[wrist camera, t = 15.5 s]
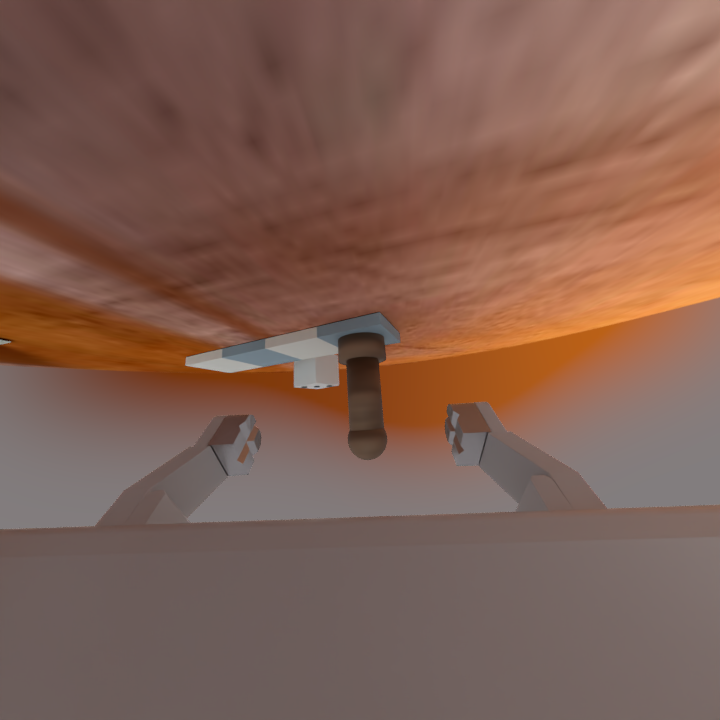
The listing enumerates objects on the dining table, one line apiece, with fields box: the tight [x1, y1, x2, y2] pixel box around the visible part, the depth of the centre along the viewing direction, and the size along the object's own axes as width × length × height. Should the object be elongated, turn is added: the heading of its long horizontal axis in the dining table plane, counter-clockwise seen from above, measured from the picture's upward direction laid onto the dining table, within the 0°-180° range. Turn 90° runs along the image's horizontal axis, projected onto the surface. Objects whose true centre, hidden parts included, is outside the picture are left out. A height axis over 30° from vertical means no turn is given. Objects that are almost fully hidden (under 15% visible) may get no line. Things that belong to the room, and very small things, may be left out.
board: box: [185, 312, 400, 373], centre depth 28 cm, size 6×24×1 cm, turn 114°
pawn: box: [338, 332, 387, 460], centre depth 23 cm, size 4×4×11 cm
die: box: [294, 354, 339, 389], centre depth 33 cm, size 4×4×4 cm
